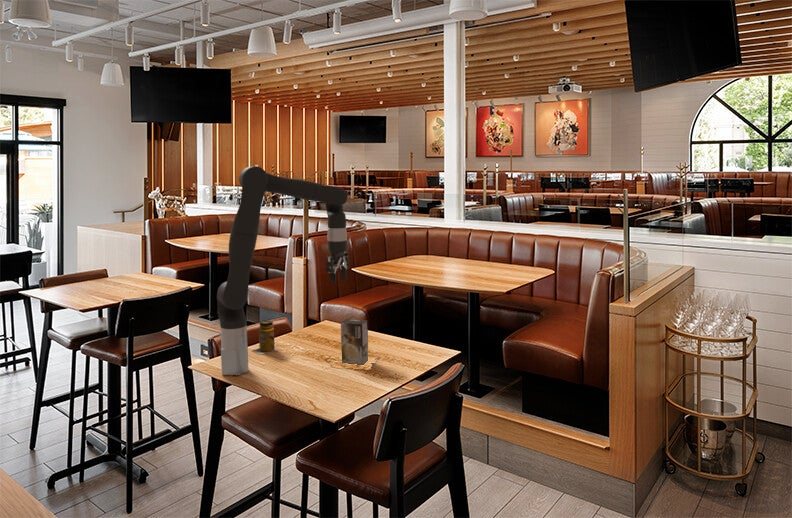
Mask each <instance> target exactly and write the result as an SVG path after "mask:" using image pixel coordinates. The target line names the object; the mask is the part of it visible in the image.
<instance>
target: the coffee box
mask: <svg viewBox="0 0 792 518" xmlns="http://www.w3.org/2000/svg"><path fill="white" fill-rule="evenodd" d="M368 323H369V322H368V320H367V319H357V318H356V319H354V318H345V319H343V320H342V321H341V322H340V342H341V345H340V346H341V354H342V363H348V364H357V365H364V364H365V363H366V362H367V361H368V356H369V334H368V333H369V328H368Z"/></svg>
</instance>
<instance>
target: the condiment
mask: <svg viewBox="0 0 792 518" xmlns="http://www.w3.org/2000/svg"><path fill="white" fill-rule="evenodd" d="M258 337H259V338H258V339H259V340H258V341H259V344H258V345H259V346H258V347H259V348H255V349H251V351H252V352H254V353H256V354H258V355H265V354H269V353H273V352H274V353H275V352H278V351H279V348H278V349H277V348H276V347H275V346H276V345H275V328H274V322H273V321H272V320H262V321H260V322H259V329H258Z"/></svg>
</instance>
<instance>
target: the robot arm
mask: <svg viewBox="0 0 792 518" xmlns="http://www.w3.org/2000/svg"><path fill="white" fill-rule="evenodd" d="M238 183H239V184H240V187H241V194H240V202H239V206H238V209H237V212H236V214H235V217H234V220H233V222H232V225H231V229H230V235H229V240H228V259H229V261H228V262H229V271H228V276H227V281H225V282H222V283H221V284H220V285H219V287H218V288H217V292H216V302H217V316H218V321H219V326H220V327H219V329H220V345H221V348H220V360H221V361H220V363H221V364H220V365H221V375H222V376H233V375H236V377H237V375H238V376H239V374H240V375H244V374H246V373H248V372H249V370H250V369H249V350H248V349H249V347H248V345H249V344H248V327H247V324H248V323H247V321H248V320H247V317H246V315H245V310H244V306H245V305H246V303H247V301H248V296H249V287H250V285H249V284H250V283H249V282H250V272H251V269H252V268H251V267H252V264H253V260H254V255H255V249H256V245H257V239H258V234H259V226H260V220H261V219H260V218H261V210H262V209H261V208H262V205H263V200H264V196H265V194H266V193H273V194H280V195H284V196H288V197H291V198H295V199H300V200H304V201H309V202H316V203H317V202H318V203H323V204H325V210H326V215H327V231H326V233H327V234H326V235H327V238H326V239H327V252H329V253H330V256H326V257H325V260H326V261H325V262H326V263H325V264H326V266H325V268H326V269H325V271H326V273H328V274H329V283H331V284H336V282H337V273H336V272H337V269H339V268H340V279H341V280H346V279H347V270H348V268H349V267H350V253H349V252H348V232H347V231H348V230H347V217H346V214H345V212H344V207H343V205H345V204H346V203H347V201H348V193H347V191H346V189H344V188H342V187H339V186H333V185H326V184H321V183H319V182H315V181H309V180H305V179H299V178H293V177H292V178H291V177H283V176H278V175H274V174H271V173H268V172H266V170H265V169H264V168H262V167H261V166H258V165H253V166H252V165H251V166H248V167H246V168H243V170H242V171H241V172H240V173H239V175H238ZM243 373H244V374H243Z"/></svg>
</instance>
